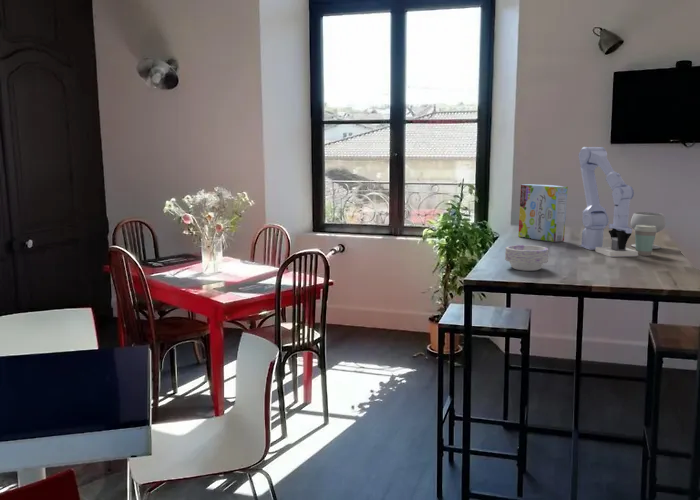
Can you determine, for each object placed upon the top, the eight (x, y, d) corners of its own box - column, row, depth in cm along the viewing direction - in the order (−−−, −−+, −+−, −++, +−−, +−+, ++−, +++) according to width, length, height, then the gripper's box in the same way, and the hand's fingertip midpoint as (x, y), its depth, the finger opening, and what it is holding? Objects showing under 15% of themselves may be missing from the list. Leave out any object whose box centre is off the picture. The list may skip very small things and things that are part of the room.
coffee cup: (657, 256, 263) (659, 227, 261) (634, 255, 265) (637, 226, 263) (651, 253, 271) (654, 224, 269) (630, 252, 273) (632, 224, 271)
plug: (611, 251, 269) (612, 237, 268) (620, 251, 270) (621, 237, 269) (616, 253, 266) (617, 238, 265) (625, 253, 266) (626, 238, 265)
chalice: (625, 244, 294) (628, 211, 292) (658, 245, 292) (661, 212, 289) (632, 249, 281) (635, 214, 278) (667, 250, 278) (670, 216, 276)
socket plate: (595, 251, 275) (595, 246, 274) (622, 251, 276) (622, 246, 276) (610, 256, 263) (610, 251, 262) (637, 256, 264) (638, 250, 264)
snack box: (565, 241, 302) (569, 186, 297) (553, 243, 297) (556, 186, 293) (528, 235, 319) (531, 183, 315) (516, 236, 315) (519, 183, 310)
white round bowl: (515, 263, 248) (516, 242, 247) (554, 268, 238) (555, 247, 237) (497, 269, 236) (498, 247, 235) (537, 274, 227) (538, 252, 226)
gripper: (602, 213, 272) (600, 245, 274) (621, 217, 258) (618, 251, 260) (618, 213, 273) (616, 245, 275) (638, 217, 258) (635, 251, 261)
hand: (618, 248), depth 268 cm, fingers closed on plug, 4 cm apart
